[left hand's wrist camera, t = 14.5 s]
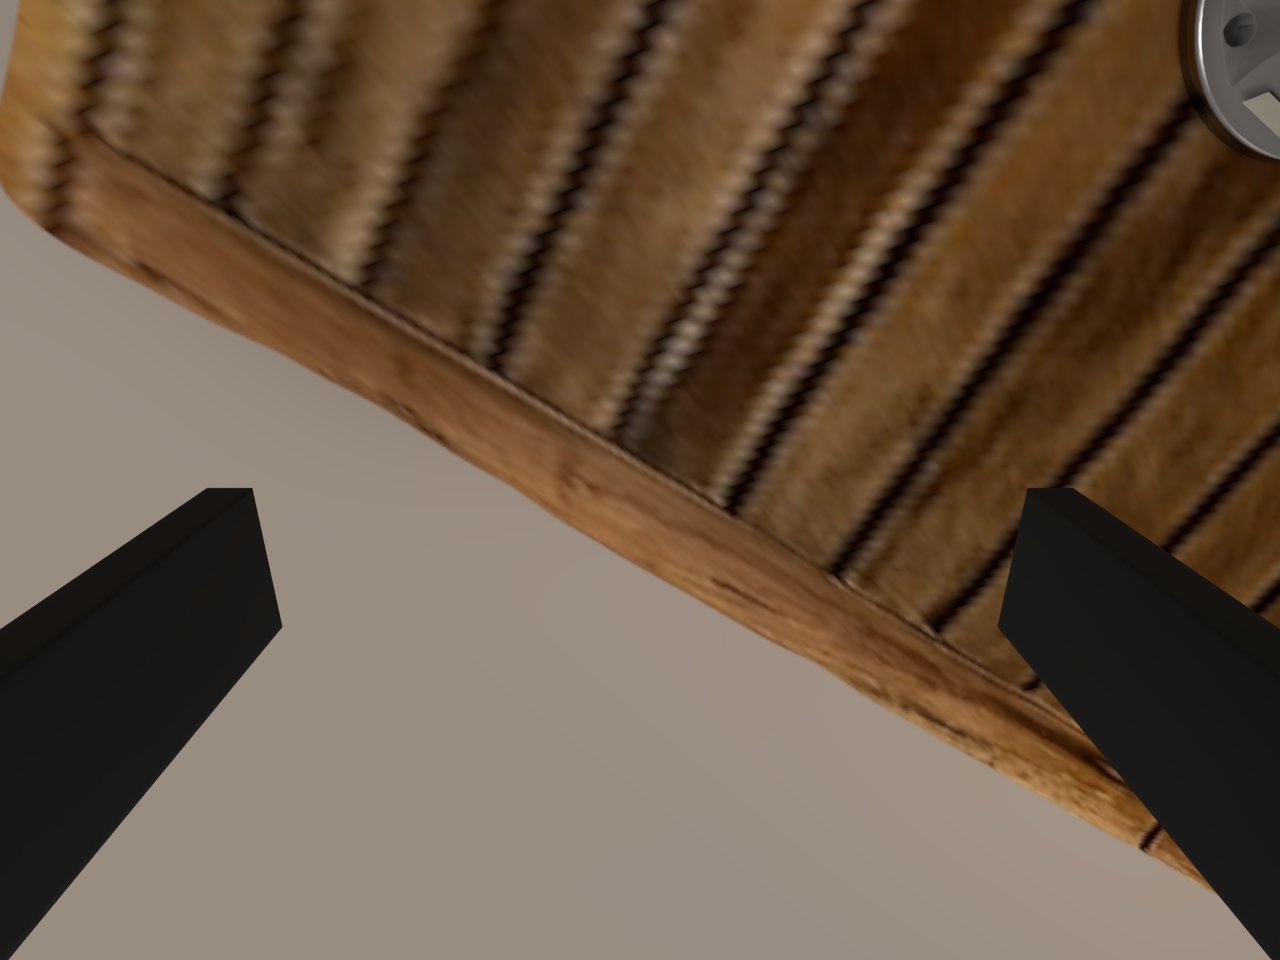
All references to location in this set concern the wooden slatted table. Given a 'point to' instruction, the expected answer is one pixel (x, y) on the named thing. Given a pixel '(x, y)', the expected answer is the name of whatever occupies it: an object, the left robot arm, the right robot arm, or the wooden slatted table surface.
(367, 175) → the wooden slatted table surface
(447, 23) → the wooden slatted table surface
